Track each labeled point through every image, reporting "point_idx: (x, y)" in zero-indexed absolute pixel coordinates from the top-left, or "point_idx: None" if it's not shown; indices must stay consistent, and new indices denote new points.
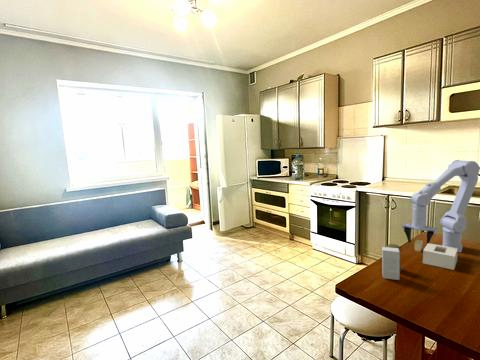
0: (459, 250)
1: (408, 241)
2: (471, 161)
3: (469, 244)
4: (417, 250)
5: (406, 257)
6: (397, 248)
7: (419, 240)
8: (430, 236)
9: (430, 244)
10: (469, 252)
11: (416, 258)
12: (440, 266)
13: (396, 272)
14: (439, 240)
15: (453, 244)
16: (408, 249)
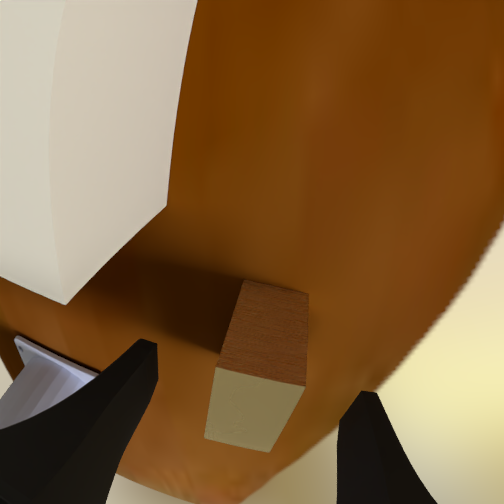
0: (24, 353)
1: (380, 404)
2: None
3: None
4: (274, 294)
5: (420, 17)
6: None
7: (237, 439)
8: (14, 437)
9: (15, 234)
10: (4, 343)
11: (295, 19)
12: None
13: None
14: (153, 464)
15: (22, 386)
16: (369, 312)
